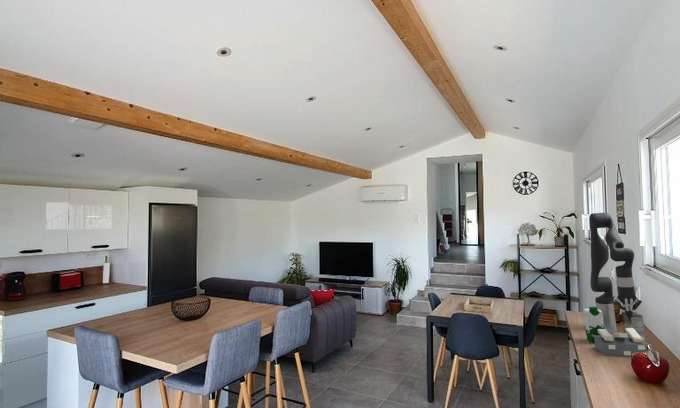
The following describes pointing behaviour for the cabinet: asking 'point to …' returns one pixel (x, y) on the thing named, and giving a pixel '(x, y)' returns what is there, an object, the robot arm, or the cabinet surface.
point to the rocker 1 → (605, 334)
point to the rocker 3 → (633, 335)
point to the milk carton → (593, 322)
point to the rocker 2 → (620, 334)
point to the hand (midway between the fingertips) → (629, 317)
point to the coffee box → (634, 324)
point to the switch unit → (619, 346)
